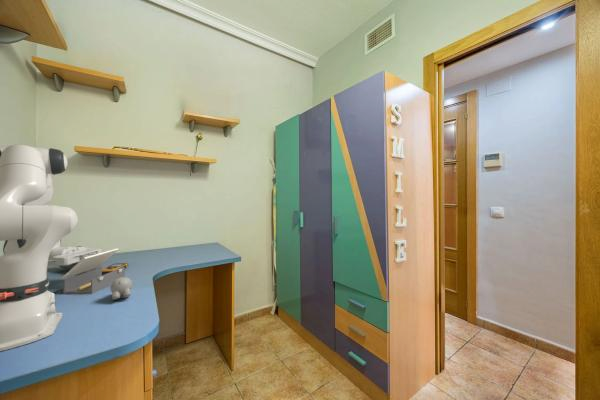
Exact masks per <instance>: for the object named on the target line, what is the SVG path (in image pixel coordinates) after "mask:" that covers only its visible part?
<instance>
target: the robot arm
mask: <svg viewBox="0 0 600 400" xmlns="http://www.w3.org/2000/svg"><path fill="white" fill-rule="evenodd" d="M67 167H68V158H67V156H66V155H65V154H64V152H63V151H62V150H61V149H56V148H52V147H50V148H46V147H39V146H31V145H27V144H11V145H8V144H7V145H0V242H3V241H4V243H3V246H2V252H3V255H1V256H0V352H3V351H6V350H10V349H15V348H19V347H21V346H24V345H27V344H31V343H33V342H36V341H40V340H42V339H44V338H47V337H49V336H51V335H53V334H54V332H55V331H56V329H57V327H58V325H59V324H60V322H61V320H62V318H63V317H64V315H63V312H57V306H55V304H56V303H57V301H56V299H55V293H53V292H52V291H50V290H49V288H50V287H49V285H50V281H49V277H47V275H48V273H47V272H48V266H54V267H57V266H58V267H59V266H69V265H71V264H73V263H76V262H80V261H81V260H82V259H83V258H84V257H88V256H91V255H95V254H99V253H102V252H103V250H102V248H101V247H88V246H87V247H86V246H84V245H81V246H79V245H78V246H62V239H63V238H65V237H66V236H68V235H70V234H71V233H72V232H73V231H74V230H75V229H76V227H77V225H78V222H79V218H78V214H77V213H76V212H75V211H76V210H74V209H73V208H71V207H69V206H61V205H54V204H49V202H50V201H52V199H53V196H54V193H55V191H54V183H53V177H52V175H53V176H55V175H60V174H63V173H64V172H66V170H67Z"/></svg>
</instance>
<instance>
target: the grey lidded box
mask: <svg viewBox="0 0 600 400" xmlns="http://www.w3.org/2000/svg"><path fill="white" fill-rule="evenodd" d="M102 269H103V267H102V266H100V267H98V268H96V269H94V270H91V271H86V272H83V273H80V274H77V275H74V276H72V277H69V278H66V279H63V281H62V286H63V289H62V290H63V291H62V293H63V295H86V294H88V295H93V294H94V293H98V292H99V291H101V290H103V289H105V288H107V287H111V284H112V283H113V281H115V280H116V279H118V278H120V277H126V276H125V270H126V269H125V267H122V268H120V269H117V270H115V271H112V272H110V273H107V274H105V275H102Z"/></svg>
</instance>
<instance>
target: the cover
mask: <svg viewBox="0 0 600 400" xmlns="http://www.w3.org/2000/svg"><path fill="white" fill-rule="evenodd" d="M119 250H120V249H119V248H112V249H110V250H107V251H104V252H103V251H102V253H99V254H95V255H91V256H88V257H84V258H83V259H82V260H81V261H80V262H79V263H78V264H76V265H75V266H74V267H73V268H72V269H71V270H70V271H69V270H68V272H66V273H65V274H64V275H63V276H62V277H61V280H65V279H68V278H71V277H74V276H77V275H79V274H82V273H85V272H88V271H89V270H92V269H95V268H96V269H97V268H99V267H102V265H104V264H105V262H107V261H108V260H109V259H111V257H112V256H114V254H116V253H117V252H118V251H119Z"/></svg>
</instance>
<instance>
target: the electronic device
mask: <svg viewBox="0 0 600 400" xmlns="http://www.w3.org/2000/svg"><path fill="white" fill-rule="evenodd" d="M122 267H125V270H126V269H128V268H129V263H128V262H120V263H119V262H117V263H113V264H111V265H108V266H106V267H105V268H102V275H105V274H107V273H110V272H112V271H115V270H117V269H120V268H122ZM127 267H128V268H127Z"/></svg>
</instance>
